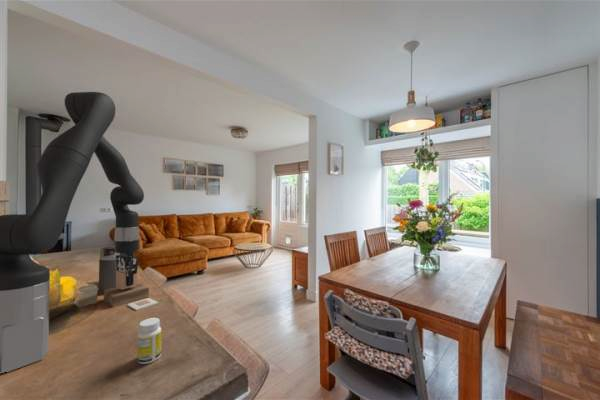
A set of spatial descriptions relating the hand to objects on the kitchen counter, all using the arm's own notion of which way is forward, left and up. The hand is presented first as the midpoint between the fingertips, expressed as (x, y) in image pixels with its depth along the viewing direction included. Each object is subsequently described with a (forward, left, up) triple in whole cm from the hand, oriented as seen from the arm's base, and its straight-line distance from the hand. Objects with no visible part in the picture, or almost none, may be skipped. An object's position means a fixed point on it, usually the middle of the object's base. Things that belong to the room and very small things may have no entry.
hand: (126, 283), depth 91 cm
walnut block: (0, 0, -6) cm, 6 cm away
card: (-11, -1, -6) cm, 12 cm away
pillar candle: (+15, -1, -6) cm, 16 cm away
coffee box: (+27, -5, -6) cm, 28 cm away
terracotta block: (0, 0, -1) cm, 1 cm away
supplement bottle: (-45, +12, -6) cm, 47 cm away
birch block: (+7, +10, -6) cm, 13 cm away
